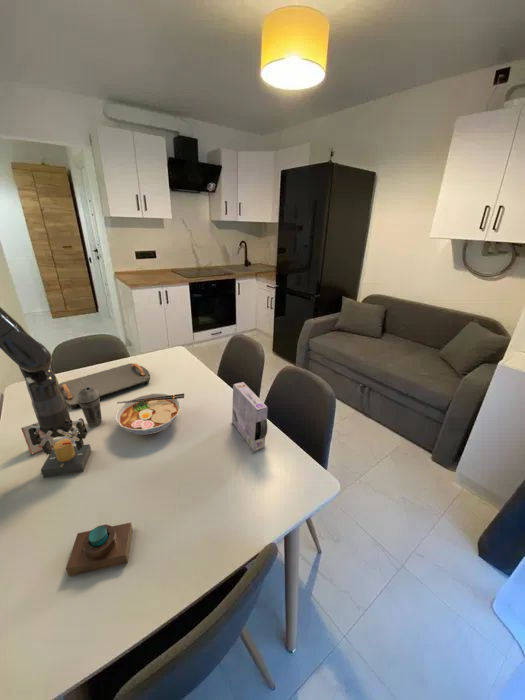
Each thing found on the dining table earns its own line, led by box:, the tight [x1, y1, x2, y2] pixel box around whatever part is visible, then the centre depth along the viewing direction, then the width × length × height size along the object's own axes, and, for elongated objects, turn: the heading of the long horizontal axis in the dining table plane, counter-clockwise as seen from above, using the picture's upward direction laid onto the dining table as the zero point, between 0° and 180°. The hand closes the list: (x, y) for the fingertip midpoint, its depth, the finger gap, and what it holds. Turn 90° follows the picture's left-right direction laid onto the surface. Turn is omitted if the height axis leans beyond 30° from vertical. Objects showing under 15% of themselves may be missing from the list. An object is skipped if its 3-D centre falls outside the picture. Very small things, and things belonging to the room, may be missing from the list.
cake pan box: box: [231, 381, 269, 452], centre depth 104 cm, size 19×5×18 cm, turn 31°
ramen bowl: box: [115, 393, 185, 436], centre depth 109 cm, size 25×23×8 cm
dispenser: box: [65, 522, 134, 578], centre depth 68 cm, size 12×8×5 cm, turn 104°
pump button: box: [89, 525, 108, 547], centre depth 66 cm, size 4×4×2 cm
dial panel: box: [40, 443, 92, 478], centre depth 92 cm, size 11×9×3 cm
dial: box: [52, 438, 75, 462], centre depth 91 cm, size 5×5×5 cm
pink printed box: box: [20, 421, 56, 456], centre depth 97 cm, size 4×7×10 cm, turn 132°
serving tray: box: [59, 363, 151, 410], centre depth 134 cm, size 39×23×6 cm, turn 133°
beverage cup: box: [77, 379, 103, 428], centre depth 107 cm, size 7×7×20 cm
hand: (65, 450), depth 90 cm, fingers open, 8 cm apart
